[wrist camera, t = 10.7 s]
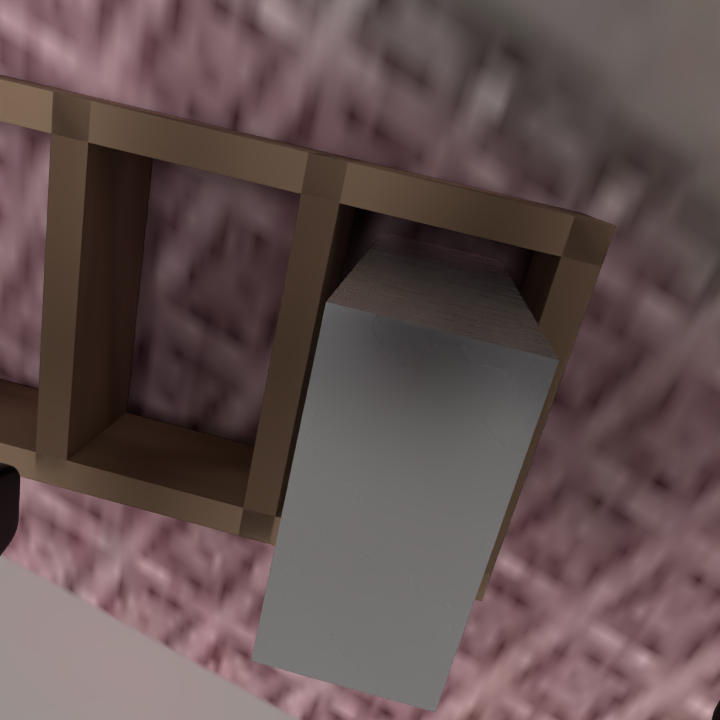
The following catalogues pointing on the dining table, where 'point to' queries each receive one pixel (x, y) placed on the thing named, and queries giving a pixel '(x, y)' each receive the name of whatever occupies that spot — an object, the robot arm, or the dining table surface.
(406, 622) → the grey metallic rectangular block
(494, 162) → the dining table surface
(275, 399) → the rack
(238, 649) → the dining table surface
